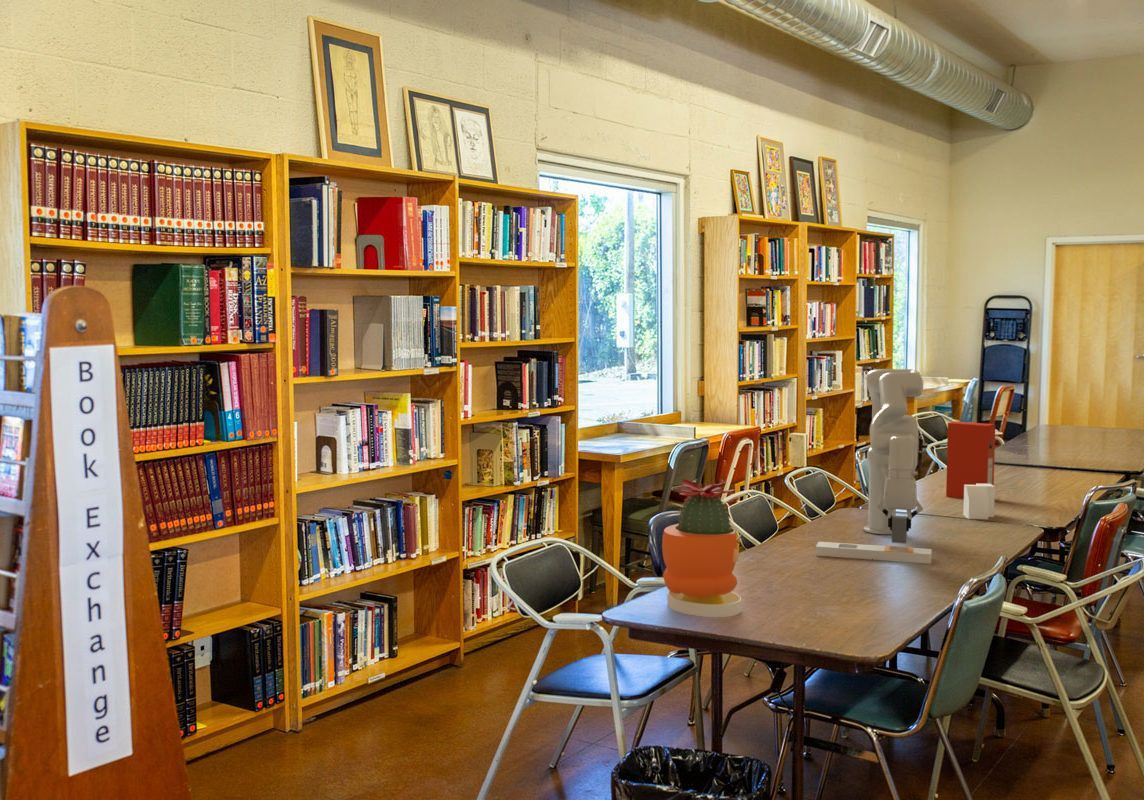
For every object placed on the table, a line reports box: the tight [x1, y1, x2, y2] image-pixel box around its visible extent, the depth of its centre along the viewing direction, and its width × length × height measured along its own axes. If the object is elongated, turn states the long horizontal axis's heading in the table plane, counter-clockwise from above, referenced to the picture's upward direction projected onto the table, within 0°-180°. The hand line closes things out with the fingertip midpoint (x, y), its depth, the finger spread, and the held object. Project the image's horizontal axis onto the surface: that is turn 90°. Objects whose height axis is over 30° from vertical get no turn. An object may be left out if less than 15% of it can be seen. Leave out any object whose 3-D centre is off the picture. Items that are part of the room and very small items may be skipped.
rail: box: [815, 541, 933, 565], centre depth 355 cm, size 8×36×3 cm, turn 71°
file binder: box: [945, 421, 996, 500], centre depth 463 cm, size 8×17×32 cm, turn 47°
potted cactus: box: [661, 479, 742, 618], centre depth 292 cm, size 22×22×35 cm
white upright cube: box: [962, 483, 996, 520], centre depth 423 cm, size 11×11×12 cm
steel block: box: [891, 515, 908, 544], centre depth 351 cm, size 4×4×8 cm
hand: (899, 529), depth 351 cm, fingers closed on steel block, 4 cm apart
